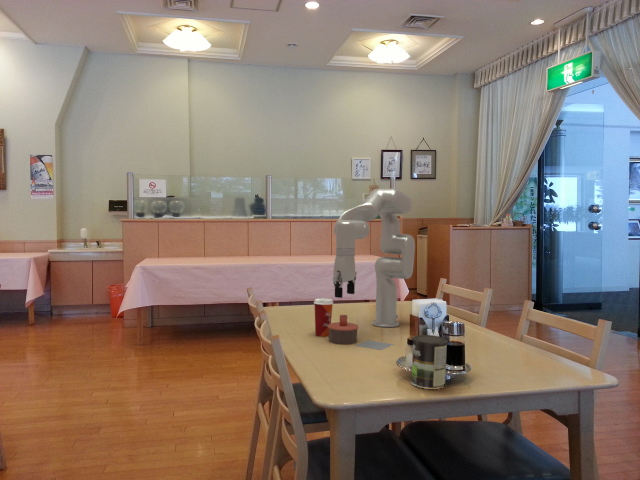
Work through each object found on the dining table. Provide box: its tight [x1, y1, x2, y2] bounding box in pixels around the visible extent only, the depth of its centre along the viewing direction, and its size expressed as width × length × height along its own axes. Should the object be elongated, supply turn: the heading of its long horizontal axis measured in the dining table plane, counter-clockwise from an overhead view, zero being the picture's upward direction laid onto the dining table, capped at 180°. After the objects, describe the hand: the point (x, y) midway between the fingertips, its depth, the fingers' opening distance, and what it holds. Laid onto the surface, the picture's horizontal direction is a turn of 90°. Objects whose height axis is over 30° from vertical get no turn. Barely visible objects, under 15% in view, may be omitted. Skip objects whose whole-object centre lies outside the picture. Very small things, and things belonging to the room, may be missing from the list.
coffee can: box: [410, 334, 448, 388], centre depth 164 cm, size 10×10×14 cm
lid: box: [328, 314, 359, 331], centre depth 215 cm, size 12×12×5 cm
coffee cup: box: [313, 297, 334, 338], centre depth 227 cm, size 8×8×15 cm
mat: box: [354, 339, 394, 351], centre depth 210 cm, size 11×11×1 cm
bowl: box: [328, 328, 358, 345], centre depth 215 cm, size 10×10×6 cm
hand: (344, 295), depth 215 cm, fingers open, 9 cm apart
